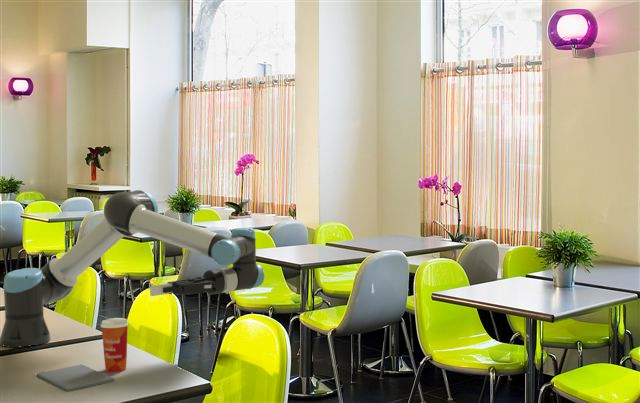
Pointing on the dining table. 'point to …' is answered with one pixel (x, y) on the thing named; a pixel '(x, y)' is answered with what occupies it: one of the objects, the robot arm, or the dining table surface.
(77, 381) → the mat
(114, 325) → the paper cup
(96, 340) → the dining table surface
